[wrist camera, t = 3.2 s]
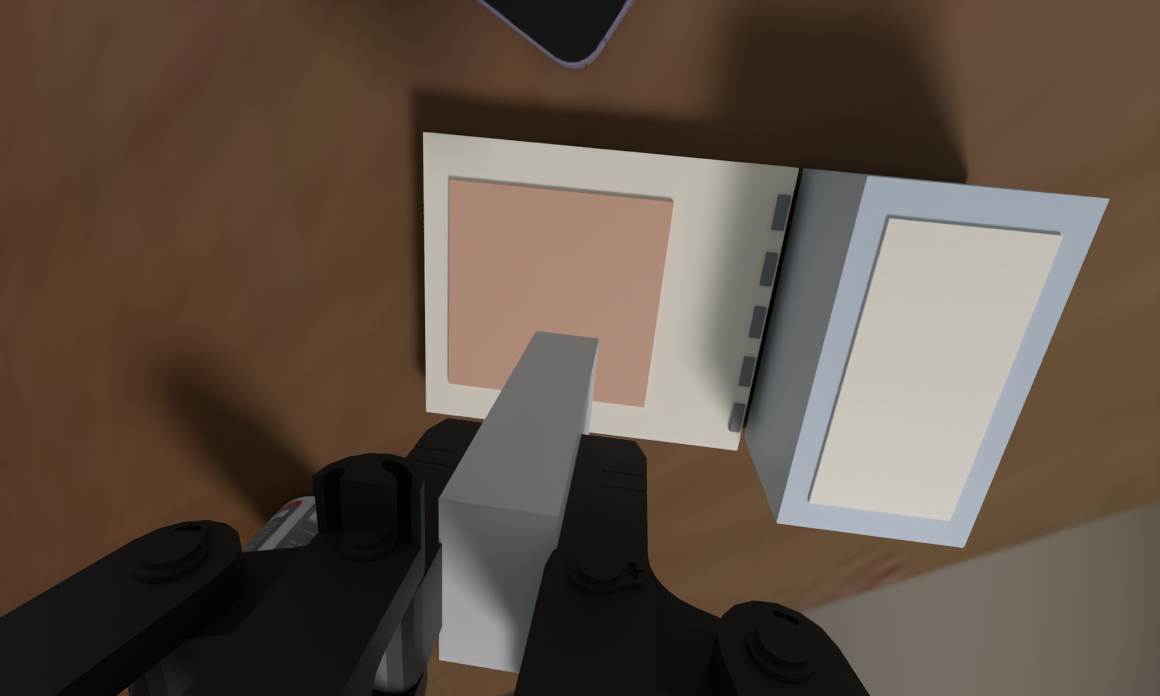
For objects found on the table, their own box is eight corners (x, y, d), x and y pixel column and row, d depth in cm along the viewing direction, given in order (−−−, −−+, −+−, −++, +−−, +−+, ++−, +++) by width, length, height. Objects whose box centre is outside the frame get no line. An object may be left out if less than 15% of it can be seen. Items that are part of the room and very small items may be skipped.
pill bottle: (288, 566, 29) (158, 723, 21) (270, 490, 27) (122, 629, 19) (374, 572, 28) (275, 734, 20) (361, 495, 27) (248, 639, 19)
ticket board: (438, 396, 24) (424, 413, 23) (437, 133, 21) (421, 132, 19) (730, 432, 24) (737, 452, 22) (787, 166, 20) (800, 168, 18)
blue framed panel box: (743, 437, 23) (777, 525, 18) (803, 168, 19) (869, 175, 14) (887, 455, 23) (965, 550, 18) (976, 184, 19) (1112, 199, 14)
